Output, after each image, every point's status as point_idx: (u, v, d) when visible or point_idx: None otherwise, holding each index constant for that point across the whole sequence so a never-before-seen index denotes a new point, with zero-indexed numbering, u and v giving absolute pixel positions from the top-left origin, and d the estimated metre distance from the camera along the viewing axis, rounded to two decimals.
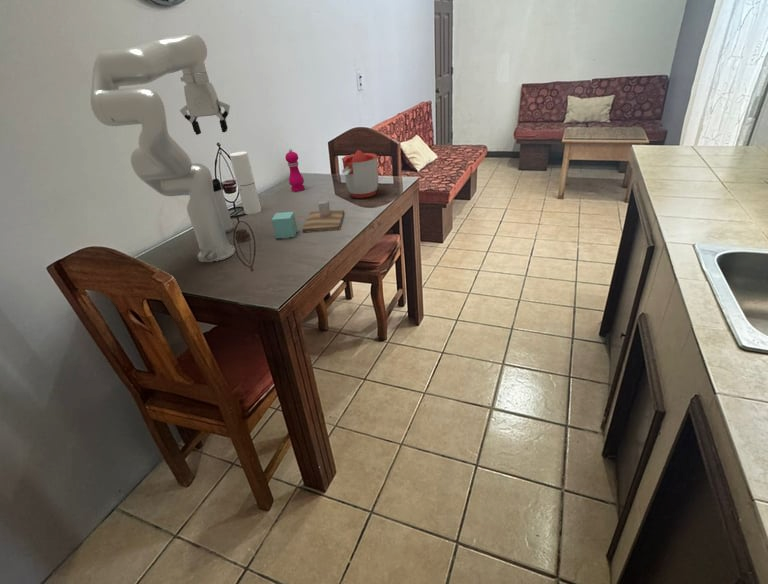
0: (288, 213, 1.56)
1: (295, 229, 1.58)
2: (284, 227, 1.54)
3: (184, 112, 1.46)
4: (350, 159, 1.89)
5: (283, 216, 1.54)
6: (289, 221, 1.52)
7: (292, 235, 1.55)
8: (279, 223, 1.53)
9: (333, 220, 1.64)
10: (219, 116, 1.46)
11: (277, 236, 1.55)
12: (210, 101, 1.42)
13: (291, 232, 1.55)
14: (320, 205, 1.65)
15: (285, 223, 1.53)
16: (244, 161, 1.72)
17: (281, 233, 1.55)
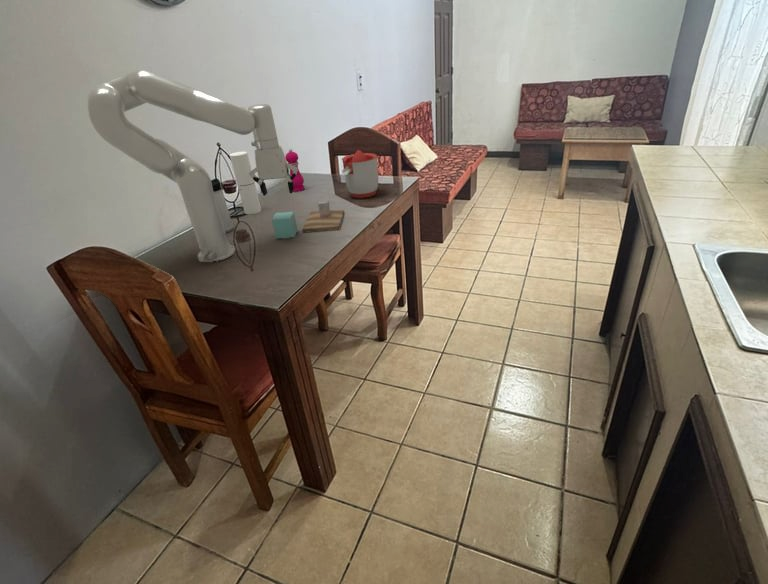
0: (288, 213, 1.56)
1: (295, 229, 1.58)
2: (284, 227, 1.54)
3: (253, 174, 1.47)
4: (350, 159, 1.89)
5: (283, 216, 1.54)
6: (289, 221, 1.52)
7: (292, 235, 1.55)
8: (279, 223, 1.53)
9: (333, 220, 1.64)
10: (287, 178, 1.46)
11: (277, 236, 1.55)
12: (280, 165, 1.43)
13: (291, 232, 1.55)
14: (320, 205, 1.65)
15: (285, 223, 1.53)
16: (244, 161, 1.72)
17: (281, 233, 1.55)
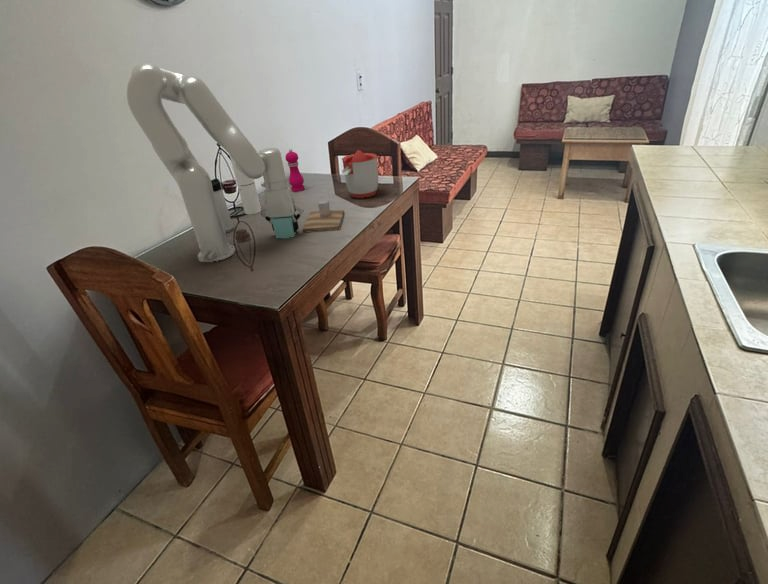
0: None
1: None
2: (284, 227, 1.54)
3: (264, 214, 1.54)
4: (350, 159, 1.89)
5: None
6: (289, 221, 1.52)
7: (292, 235, 1.55)
8: (279, 223, 1.53)
9: (333, 220, 1.64)
10: (293, 218, 1.54)
11: (277, 236, 1.56)
12: (288, 205, 1.50)
13: (291, 232, 1.55)
14: (320, 205, 1.65)
15: (285, 223, 1.53)
16: None
17: (281, 233, 1.55)
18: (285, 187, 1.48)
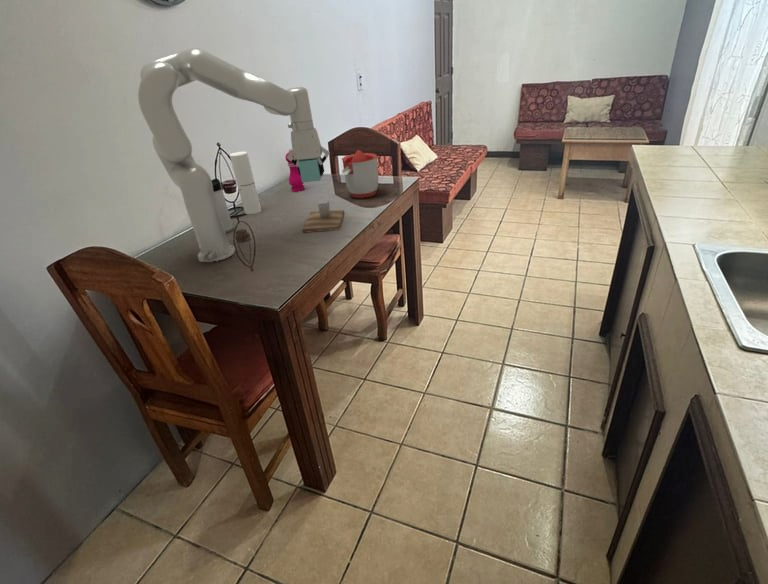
0: None
1: None
2: (310, 169, 1.54)
3: (290, 157, 1.55)
4: (350, 159, 1.89)
5: (310, 159, 1.54)
6: (315, 163, 1.53)
7: (318, 178, 1.56)
8: (305, 165, 1.53)
9: (333, 220, 1.64)
10: (319, 161, 1.54)
11: (303, 179, 1.56)
12: (315, 146, 1.50)
13: (317, 175, 1.55)
14: (320, 205, 1.65)
15: (311, 165, 1.53)
16: (244, 161, 1.72)
17: (307, 176, 1.55)
18: (312, 127, 1.48)
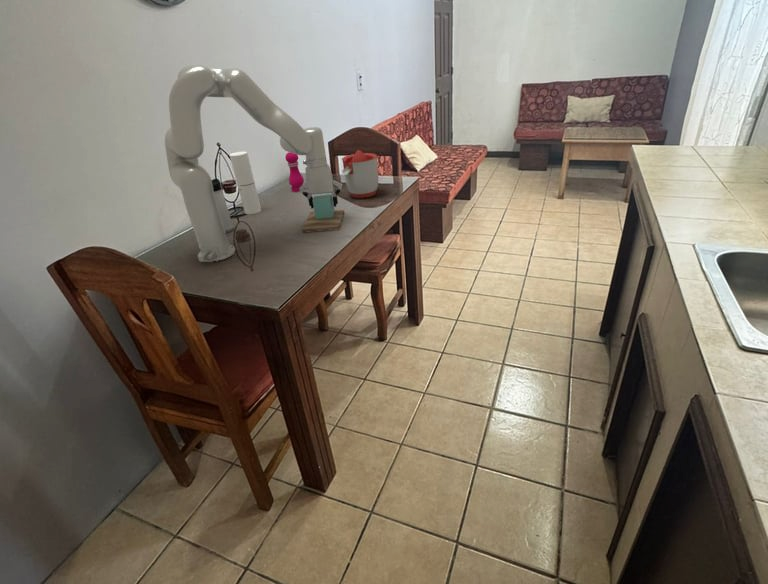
0: (327, 195, 1.67)
1: (333, 210, 1.69)
2: (324, 207, 1.64)
3: (302, 190, 1.63)
4: (350, 159, 1.89)
5: (323, 197, 1.64)
6: (329, 202, 1.63)
7: (331, 215, 1.66)
8: (319, 204, 1.63)
9: (333, 220, 1.64)
10: (333, 193, 1.63)
11: (317, 216, 1.66)
12: (328, 181, 1.59)
13: (330, 212, 1.65)
14: None
15: (325, 204, 1.63)
16: (244, 161, 1.72)
17: (320, 213, 1.65)
18: (325, 164, 1.58)
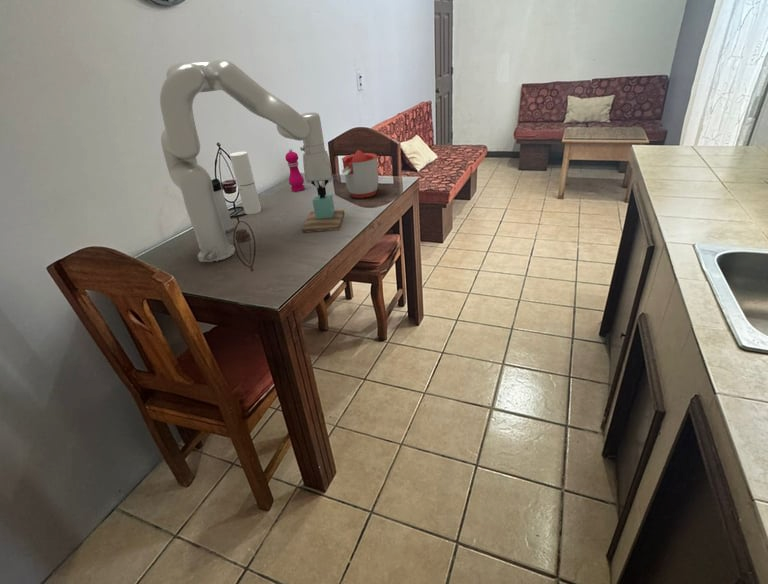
0: (327, 195, 1.67)
1: (333, 210, 1.69)
2: (324, 207, 1.64)
3: (309, 180, 1.62)
4: (350, 159, 1.89)
5: None
6: (329, 202, 1.63)
7: (331, 215, 1.66)
8: (319, 204, 1.63)
9: (333, 220, 1.64)
10: (323, 183, 1.61)
11: (317, 216, 1.66)
12: (326, 168, 1.57)
13: (330, 212, 1.65)
14: None
15: (325, 204, 1.63)
16: (244, 161, 1.72)
17: (320, 213, 1.65)
18: (323, 151, 1.55)
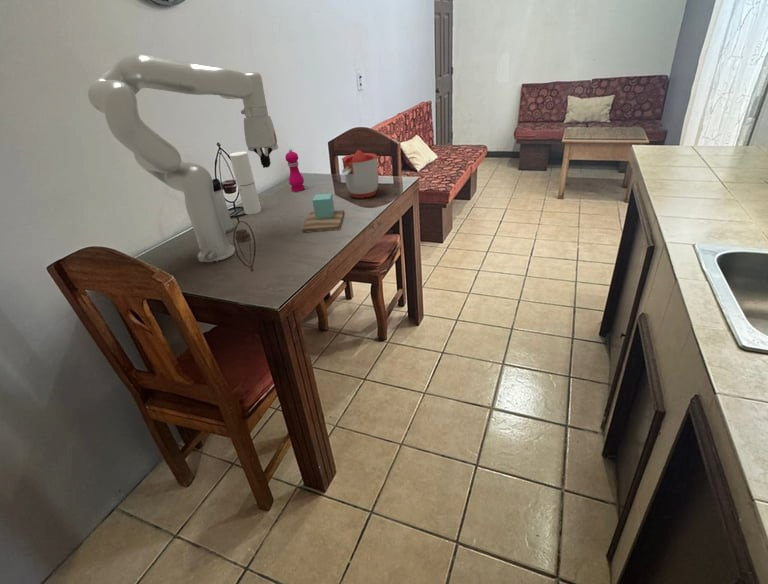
0: (327, 195, 1.67)
1: (333, 210, 1.69)
2: (324, 207, 1.64)
3: (251, 148, 1.50)
4: (350, 159, 1.89)
5: (323, 197, 1.64)
6: (329, 202, 1.63)
7: (331, 215, 1.66)
8: (319, 204, 1.63)
9: (333, 220, 1.64)
10: (265, 151, 1.50)
11: (317, 216, 1.66)
12: (268, 134, 1.46)
13: (330, 212, 1.65)
14: None
15: (325, 204, 1.63)
16: (244, 161, 1.72)
17: (320, 213, 1.65)
18: (265, 115, 1.44)
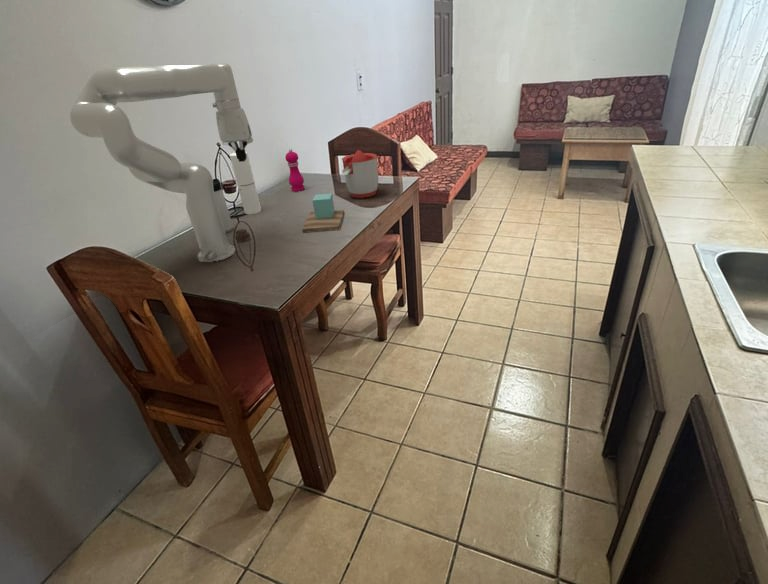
0: (327, 195, 1.67)
1: (333, 210, 1.69)
2: (324, 207, 1.64)
3: (226, 142, 1.47)
4: (350, 159, 1.89)
5: (323, 197, 1.64)
6: (329, 202, 1.63)
7: (331, 215, 1.66)
8: (319, 204, 1.63)
9: (333, 220, 1.64)
10: (240, 145, 1.47)
11: (317, 216, 1.66)
12: (242, 127, 1.42)
13: (330, 212, 1.65)
14: None
15: (325, 204, 1.63)
16: (244, 161, 1.72)
17: (320, 213, 1.65)
18: (238, 107, 1.40)
